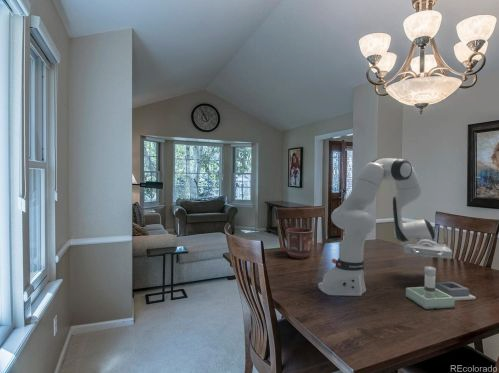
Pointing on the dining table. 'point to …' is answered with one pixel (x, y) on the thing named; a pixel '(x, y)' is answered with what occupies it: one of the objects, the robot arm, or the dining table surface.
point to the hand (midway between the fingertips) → (428, 254)
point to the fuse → (429, 282)
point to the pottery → (299, 242)
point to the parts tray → (438, 302)
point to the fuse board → (454, 290)
